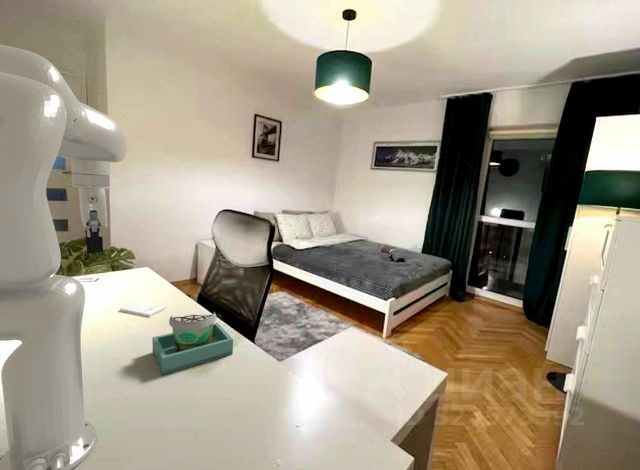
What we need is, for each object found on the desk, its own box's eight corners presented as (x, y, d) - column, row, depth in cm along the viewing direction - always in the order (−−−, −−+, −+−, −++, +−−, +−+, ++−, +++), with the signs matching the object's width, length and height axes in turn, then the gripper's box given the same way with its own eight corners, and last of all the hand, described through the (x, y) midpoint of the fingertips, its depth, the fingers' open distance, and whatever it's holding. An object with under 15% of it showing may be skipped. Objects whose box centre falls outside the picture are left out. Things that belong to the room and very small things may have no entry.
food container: (165, 360, 78) (165, 324, 77) (169, 347, 84) (169, 314, 83) (215, 355, 82) (216, 321, 81) (215, 343, 88) (216, 311, 87)
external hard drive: (139, 304, 114) (167, 309, 111) (120, 312, 106) (149, 318, 103) (138, 300, 114) (167, 305, 111) (120, 308, 106) (149, 314, 103)
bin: (232, 354, 85) (233, 339, 85) (162, 375, 74) (162, 358, 73) (217, 336, 94) (217, 322, 94) (152, 352, 83) (152, 337, 82)
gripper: (112, 184, 71) (114, 255, 74) (107, 181, 84) (109, 241, 87) (71, 182, 66) (75, 257, 69) (72, 179, 80) (76, 242, 82)
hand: (94, 248), depth 78 cm, fingers open, 9 cm apart
